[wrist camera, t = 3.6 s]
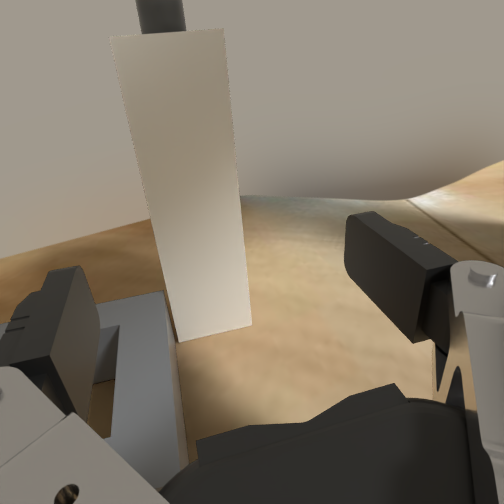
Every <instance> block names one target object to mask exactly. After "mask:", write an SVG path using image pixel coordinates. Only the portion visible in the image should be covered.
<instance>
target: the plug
mask: <svg viewBox="0 0 504 504" xmlns="http://www.w3.org/2000/svg"><path fill="white" fill-rule="evenodd" d="M136 6H137V11H138V16H139V21H140V26H141V32H142V34H140V35H127V36H113V37H109V40H110V45H111V49H112V53H113V57H114V62H115V66H116V71H117V75H118V79H119V84H120V88H121V92H122V97H123V101H124V106H125V110H126V114H127V119H128V123H129V127H130V132H131V135H132V140H133V145H134V149H135V153H136V158H137V162H138V166H139V171H140V175H141V179H142V184H143V188H144V192H145V197H146V201H147V206H148V210H149V214H150V219H151V223H152V227H153V232H154V236H155V240H156V245H157V249H158V253H159V258H160V262H161V266H162V271H163V275H164V280H165V284H166V288H167V293H168V297H169V301H170V306H171V310H172V314H173V319H174V323H175V327H176V332H177V336H178V340H179V343H180V342H184V341H188V340H192V339H196V338H201V337H205V336H209V335H213V334H218V333H222V332H226V331H230V330H235V329H239V328H243V327H247V326H252V319H251V308H250V298H249V288H248V277H247V267H246V256H245V246H244V236H243V225H242V215H241V204H240V195H239V184H238V173H237V163H236V152H235V142H234V132H233V122H232V111H231V101H230V90H229V79H228V69H227V58H226V48H225V38H224V29H223V28H222V29H208V30H195V31H186V25H185V18H184V11H183V3H182V0H136Z"/></svg>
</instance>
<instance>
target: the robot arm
mask: <svg viewBox="0 0 504 504" xmlns="http://www.w3.org/2000/svg"><path fill="white" fill-rule="evenodd" d="M344 264H345V268H346V271H347V273H348V275H349V277H350V278H351V279H352V280H353V281H354V282H355V283H356V284H357V285H358V286H359V287H360V288H361V289H362V291H363V292H364V293H365V294H366V295H367V296H368V297H369V298H370V299H371V300H372V301H373V302H374V303H375V304H376V305H377V306H378V307H379V308H380V310H381V311H382V312H383V313H384V314H385V315H386V316H387V317H388V318H389V319H390V320H391V321H392V322H393V323H394V324H395V325H396V326H397V327H398V329H399V330H400V331H401V332H402V333H403V334H404V335H405V336H406V337H407V338H408V339H409V340H410V341H411V342H412V343H413V344H414V343H417V342H421V341H425V340H428V339H431V340H432V341H433V342H434V344H433V348H432V388H433V400H427V399H419V398H406V397H405V396H404V395H403V394H402V392H401V391H400V390H399V388H398V387H397V386H396V385H395V383H392V384H389V385H385V386H382V387H379V388H375V389H372V390H368V391H365V392H361V393H358V394H355V395H351V396H349V397H347V398H345V399H344V400H342V401H340V402H339V403H337V404H336V405H334V406H332V407H331V408H329V409H327V410H326V411H324V412H322V413H321V414H319V415H318V416H316V417H314V418H313V419H311V420H309V421H307V422H303V423H286V424H266V425H248V426H245V427H241V428H238V429H234V430H231V431H228V432H224V433H221V434H217V435H214V436H210V437H207V438H204V439H200V440H197V441H196V445H197V452H198V459H197V460H196V461H194V462H192V463H191V464H189V465H187V466H186V467H185V468H184V469H182V470H181V471H180V472H178V473H177V474H176V475H175V476H174V477H173V478H172V479H170V480H169V481H168V482H167V483H166V484H165V485H164V486H163V487H162V489H161V490H160V491H159V492H157V491H156V490H155V489H154V488H153V487H152V486H151V485H150V484H149V483H148V482H147V481H146V480H145V479H144V478H143V477H142V476H141V475H140V474H138V473H137V472H136V471H135V470H134V469H133V468H132V467H131V466H130V465H129V464H128V463H127V462H126V461H125V460H124V459H123V458H122V457H121V456H120V455H119V454H118V453H117V452H116V451H115V450H113V449H112V448H111V447H110V446H109V445H108V444H107V443H106V442H105V441H104V440H103V439H102V438H101V437H100V436H99V435H98V434H97V433H96V432H95V431H94V430H93V429H92V428H91V427H90V426H89V425H87V419H88V412H89V405H90V398H91V392H92V385H93V378H94V371H95V365H96V358H97V351H98V344H99V338H100V319H99V314H98V311H97V308H96V305H95V302H94V299H93V296H92V294H91V291H90V288H89V285H88V282H87V280H86V277H85V274H84V272H83V269H82V268H81V267H80V266H73V267H68V268H63V269H57V270H52V271H49V272H48V274H47V277H46V279H45V281H44V284H43V286H42V288H41V291H37V292H32V293H31V294H29V295H28V296H27V297H26V298H25V299H24V300H23V301H22V302H21V303H20V304H19V305H18V306H17V307H16V309H15V311H14V313H13V315H12V317H11V319H10V320H11V322H9V323H8V325H7V327H6V329H5V333H4V334H3V335H2V337H1V339H0V504H504V268H503V267H501V266H498V265H496V264H492V263H489V262H484V261H476V260H467V261H460V262H458V261H457V260H455V259H454V258H452V257H450V256H449V255H447V254H446V253H444V252H443V251H441V250H440V249H438V248H437V247H435V246H433V245H432V244H428V242H427V241H426V240H424V239H423V238H421V237H418V235H416V234H415V233H413V232H412V231H410V230H409V229H407V228H405V227H402V226H399V225H396V224H393V223H391V222H389V221H388V220H386V219H385V218H383V217H382V216H380V215H379V214H377V213H376V212H374V211H370V212H365V213H360V214H354V215H350V216H349V217H348V218H347V221H346V233H345V251H344Z"/></svg>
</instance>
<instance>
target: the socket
mask: <svg viewBox="0 0 504 504" xmlns="http://www.w3.org/2000/svg"><path fill="white" fill-rule="evenodd" d="M95 305H96V308H97V311H98V314H99V319H100V338H99V344H98V351H97V358H96V365H95V371H94V378H93V384H95V383H99V382H103V381H107V380H111V379H115V390H114V403H113V415H112V427H111V437H108V438H105V439H103V440H104V441H105V442H106V443H107V444H108V445H109V446H110V447H111V448H112V449H113V450H115V451H116V452H117V453H118V454H119V455H120V456H121V457H122V458H123V459H124V460H125V461H126V462H127V463H128V464H129V465H130V466H131V467H132V468H133V469H134V470H135V471H136V472H137V473H138V474H140V475H141V476H142V477H143V478H144V479H145V480H146V481H147V482H148V483H149V484H150V485H151V486H152V487H153V488H154V489H155V490H156V491H157V492H159V491H160V490H161V489H162V487H163V486H164V485H165V484H166V483H167V482H168V481H169V480H170V479H172V478H173V477H174V476H175V475H176V474H177V473H178V472H180V471H181V470H182V469H184V468H185V467H186V466H187V465H189V458H188V449H187V441H186V432H185V423H184V415H183V406H182V398H181V389H180V381H179V372H178V363H177V355H176V346H175V338H174V333H173V329H172V324H171V320H170V316H169V312H168V307H167V303H166V299H165V295H164V290H162V291H157V292H153V293H148V294H143V295H138V296H133V297H129V298H124V299H119V300H114V301H109V302H104V303H100V304H95ZM8 323H9V322H8ZM8 323H3V324H0V339H1V337H2V335H3V334H4V333H5V329H6V327H7V325H8Z"/></svg>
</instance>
